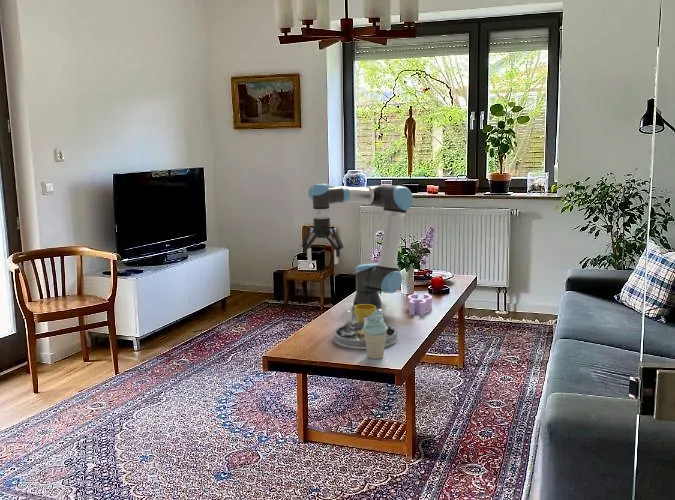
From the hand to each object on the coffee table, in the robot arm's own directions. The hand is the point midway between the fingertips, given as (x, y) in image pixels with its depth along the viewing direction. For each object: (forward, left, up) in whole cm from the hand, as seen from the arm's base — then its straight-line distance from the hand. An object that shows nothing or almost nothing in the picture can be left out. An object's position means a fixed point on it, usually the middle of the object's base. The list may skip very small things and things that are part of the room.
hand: (322, 263), depth 310 cm
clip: (-44, +34, -32) cm, 64 cm away
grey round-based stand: (+10, +16, -30) cm, 36 cm away
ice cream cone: (+30, +36, -32) cm, 57 cm away
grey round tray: (+10, +24, -31) cm, 41 cm away
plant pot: (-9, +17, -32) cm, 37 cm away
